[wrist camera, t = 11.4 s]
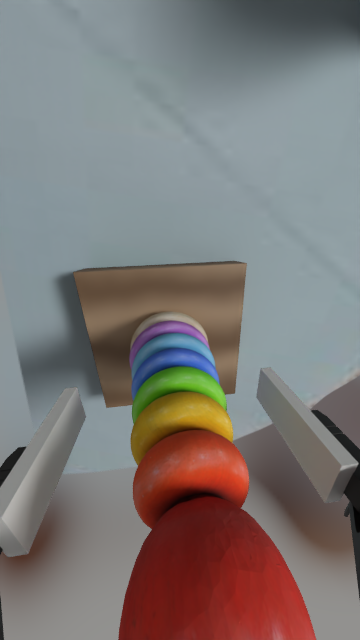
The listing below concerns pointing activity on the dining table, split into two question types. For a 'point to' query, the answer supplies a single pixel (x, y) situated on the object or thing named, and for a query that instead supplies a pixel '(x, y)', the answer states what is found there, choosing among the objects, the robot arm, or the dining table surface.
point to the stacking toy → (197, 505)
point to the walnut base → (156, 297)
